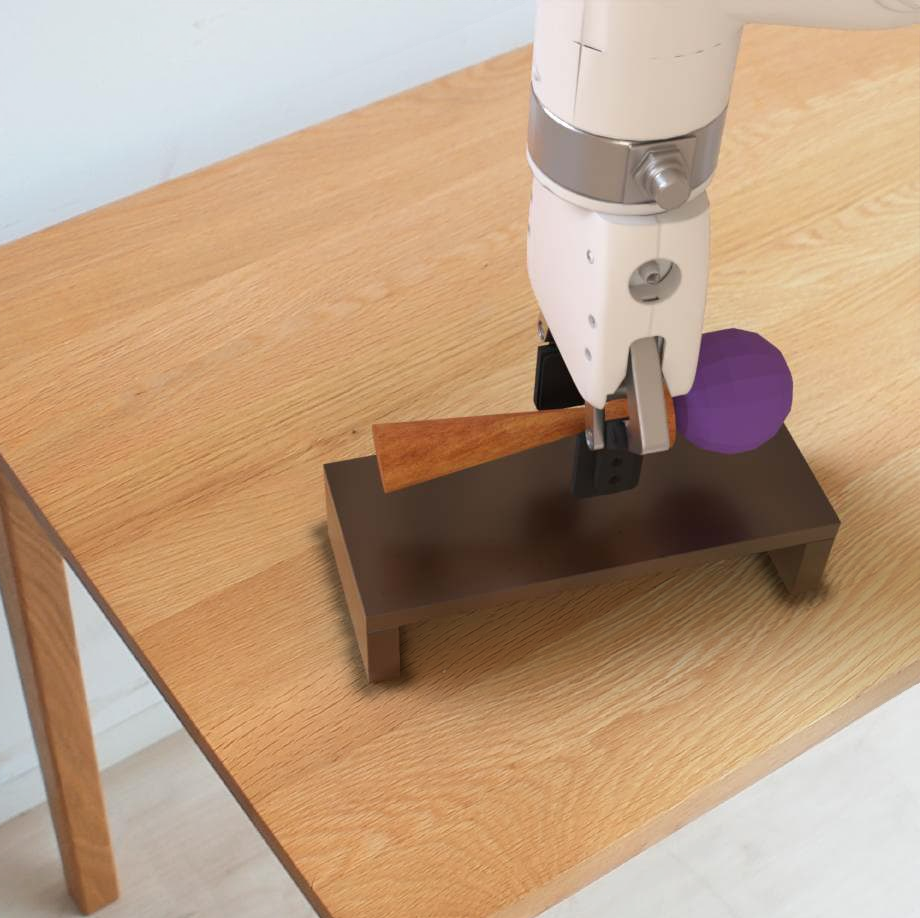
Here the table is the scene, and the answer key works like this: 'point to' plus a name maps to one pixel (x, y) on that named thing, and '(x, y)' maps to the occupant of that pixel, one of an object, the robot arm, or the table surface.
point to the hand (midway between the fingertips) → (584, 442)
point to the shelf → (561, 531)
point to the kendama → (608, 416)
